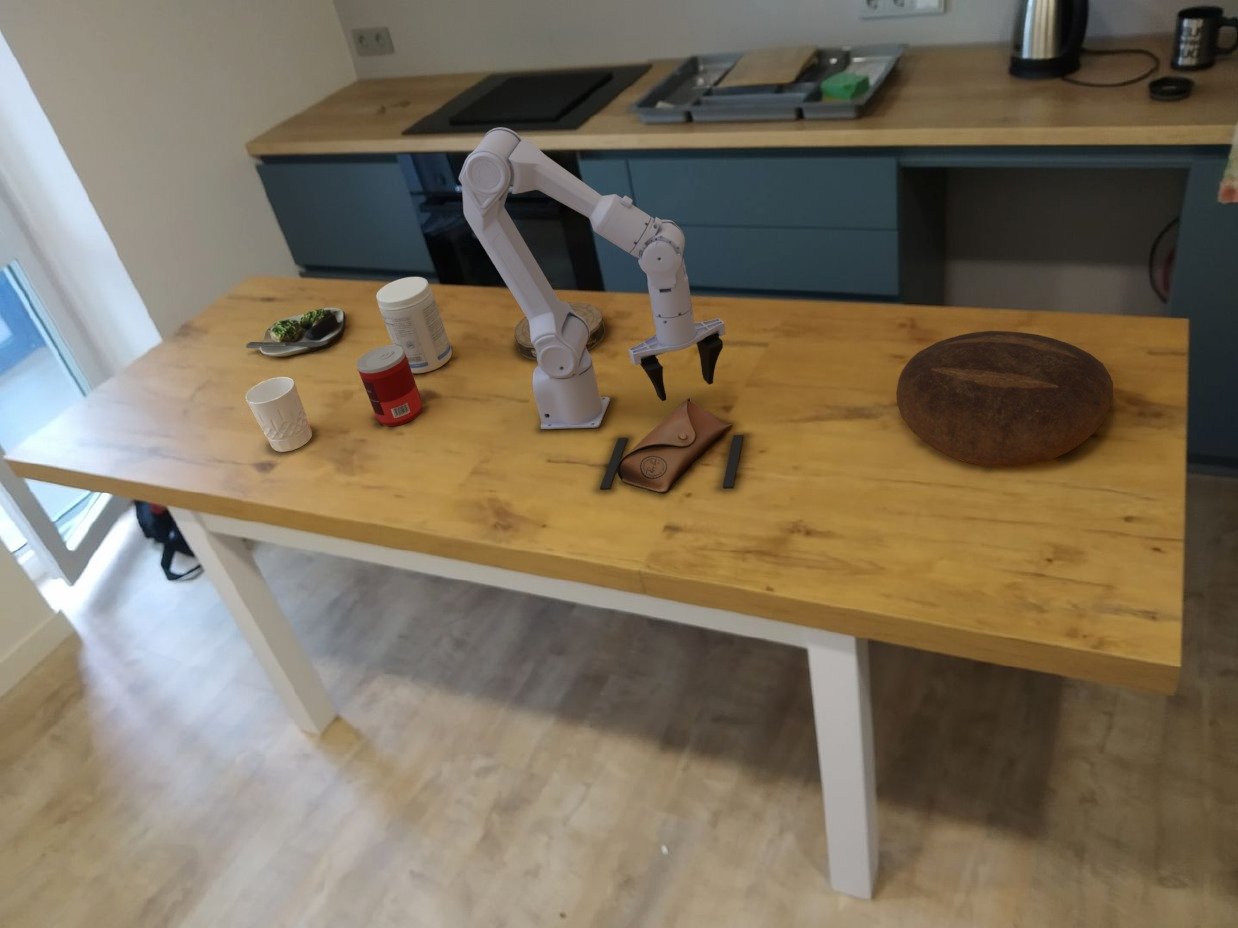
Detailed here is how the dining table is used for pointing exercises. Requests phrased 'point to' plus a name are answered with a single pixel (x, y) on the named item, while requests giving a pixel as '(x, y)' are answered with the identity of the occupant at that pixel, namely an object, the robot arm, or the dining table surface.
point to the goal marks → (729, 473)
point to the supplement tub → (415, 323)
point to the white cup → (280, 413)
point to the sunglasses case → (671, 448)
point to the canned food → (390, 385)
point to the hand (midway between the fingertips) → (685, 389)
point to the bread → (1004, 397)
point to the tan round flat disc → (582, 309)
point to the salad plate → (302, 333)
